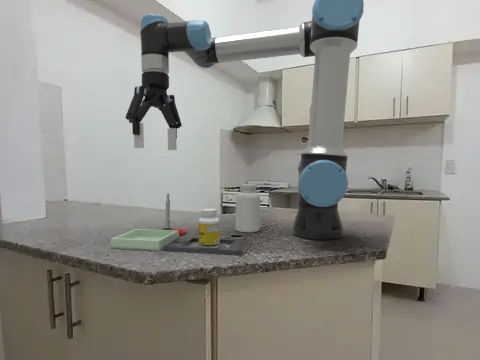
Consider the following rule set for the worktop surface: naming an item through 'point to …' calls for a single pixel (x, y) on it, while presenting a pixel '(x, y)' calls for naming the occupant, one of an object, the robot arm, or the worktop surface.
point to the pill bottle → (247, 209)
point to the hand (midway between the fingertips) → (156, 149)
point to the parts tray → (144, 239)
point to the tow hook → (167, 220)
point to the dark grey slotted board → (235, 249)
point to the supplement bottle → (209, 229)
